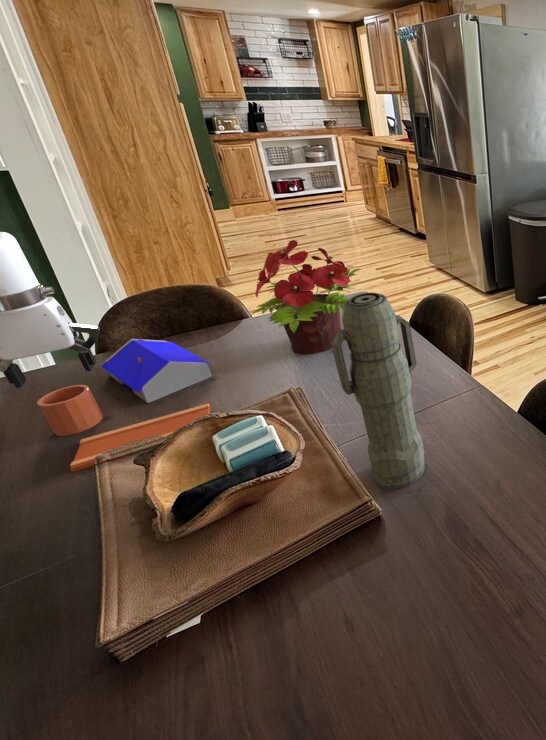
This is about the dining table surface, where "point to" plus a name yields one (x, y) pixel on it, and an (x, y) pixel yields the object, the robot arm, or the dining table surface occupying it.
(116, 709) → the dining table surface
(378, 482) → the thermos
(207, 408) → the orange rectangular tray
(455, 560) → the dining table surface
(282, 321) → the potted plant
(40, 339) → the robot arm
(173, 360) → the roof
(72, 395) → the terracotta pot
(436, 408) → the dining table surface
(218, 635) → the dining table surface
